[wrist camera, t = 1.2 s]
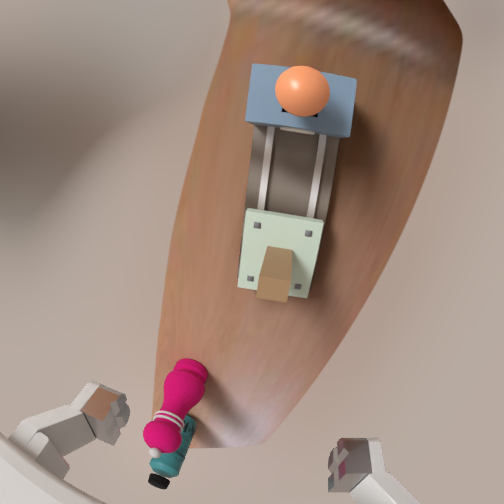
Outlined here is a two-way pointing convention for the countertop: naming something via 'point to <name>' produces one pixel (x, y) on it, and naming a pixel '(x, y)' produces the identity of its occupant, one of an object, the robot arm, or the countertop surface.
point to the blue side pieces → (270, 114)
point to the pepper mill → (175, 406)
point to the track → (291, 174)
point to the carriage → (278, 254)
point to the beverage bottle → (172, 458)
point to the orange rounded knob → (302, 91)
